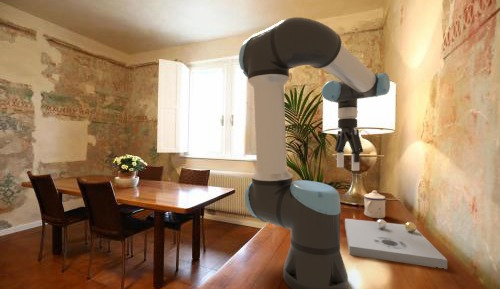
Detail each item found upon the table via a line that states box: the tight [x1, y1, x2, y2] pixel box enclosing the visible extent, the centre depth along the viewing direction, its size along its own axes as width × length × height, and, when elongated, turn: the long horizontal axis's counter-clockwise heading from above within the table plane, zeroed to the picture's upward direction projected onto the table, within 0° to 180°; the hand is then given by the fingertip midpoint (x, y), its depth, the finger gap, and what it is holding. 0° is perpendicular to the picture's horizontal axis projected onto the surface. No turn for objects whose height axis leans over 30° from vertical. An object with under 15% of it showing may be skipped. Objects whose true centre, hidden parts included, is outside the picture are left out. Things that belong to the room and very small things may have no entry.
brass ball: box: [404, 221, 417, 232], centre depth 81 cm, size 3×3×3 cm
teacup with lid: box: [363, 190, 387, 219], centre depth 108 cm, size 12×9×12 cm
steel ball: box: [375, 218, 388, 229], centre depth 84 cm, size 3×3×3 cm
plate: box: [344, 218, 448, 270], centre depth 79 cm, size 28×24×2 cm
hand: (347, 168), depth 98 cm, fingers open, 13 cm apart
